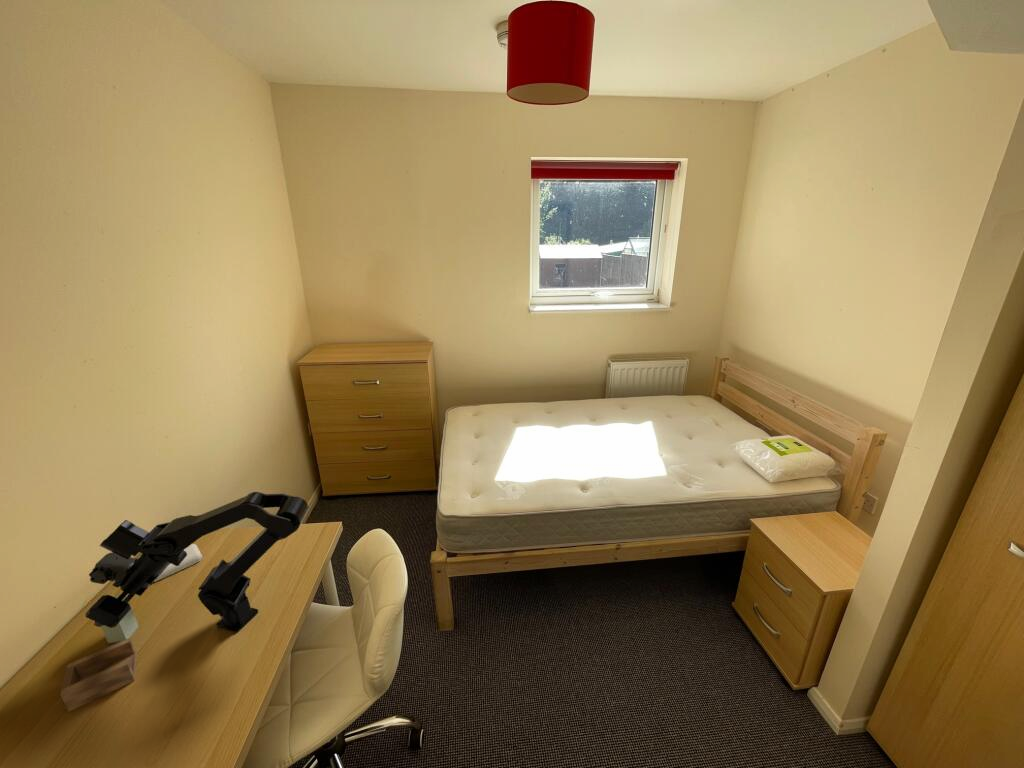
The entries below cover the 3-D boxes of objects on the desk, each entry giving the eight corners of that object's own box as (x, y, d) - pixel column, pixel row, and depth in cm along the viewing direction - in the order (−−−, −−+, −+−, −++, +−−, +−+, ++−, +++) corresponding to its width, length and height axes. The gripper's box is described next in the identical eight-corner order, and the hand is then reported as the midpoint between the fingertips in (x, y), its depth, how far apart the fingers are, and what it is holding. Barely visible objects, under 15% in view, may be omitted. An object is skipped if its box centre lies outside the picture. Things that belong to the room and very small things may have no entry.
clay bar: (138, 626, 103) (125, 593, 99) (126, 640, 99) (112, 607, 96) (120, 628, 102) (106, 596, 99) (108, 643, 98) (93, 610, 95)
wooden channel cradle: (136, 653, 96) (129, 637, 94) (134, 680, 90) (127, 664, 88) (75, 680, 90) (67, 664, 88) (69, 711, 84) (60, 694, 82)
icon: (192, 534, 129) (200, 549, 122) (195, 545, 130) (204, 561, 124) (140, 555, 120) (146, 573, 114) (145, 567, 122) (151, 585, 115)
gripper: (143, 520, 102) (107, 562, 104) (79, 578, 84) (38, 627, 87) (187, 543, 105) (151, 584, 108) (135, 604, 88) (94, 650, 90)
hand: (112, 608), depth 98 cm, fingers open, 9 cm apart
